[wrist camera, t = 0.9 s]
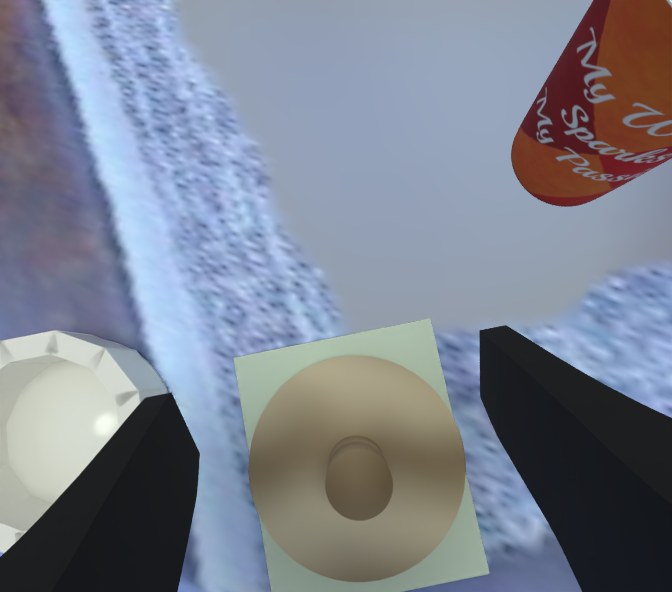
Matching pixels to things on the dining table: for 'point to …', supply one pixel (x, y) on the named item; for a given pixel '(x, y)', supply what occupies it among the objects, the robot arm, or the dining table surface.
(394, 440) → the lid
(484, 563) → the mat
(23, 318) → the dining table surface
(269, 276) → the dining table surface
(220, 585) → the dining table surface
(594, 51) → the paper cup
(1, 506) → the bowl
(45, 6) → the dining table surface
